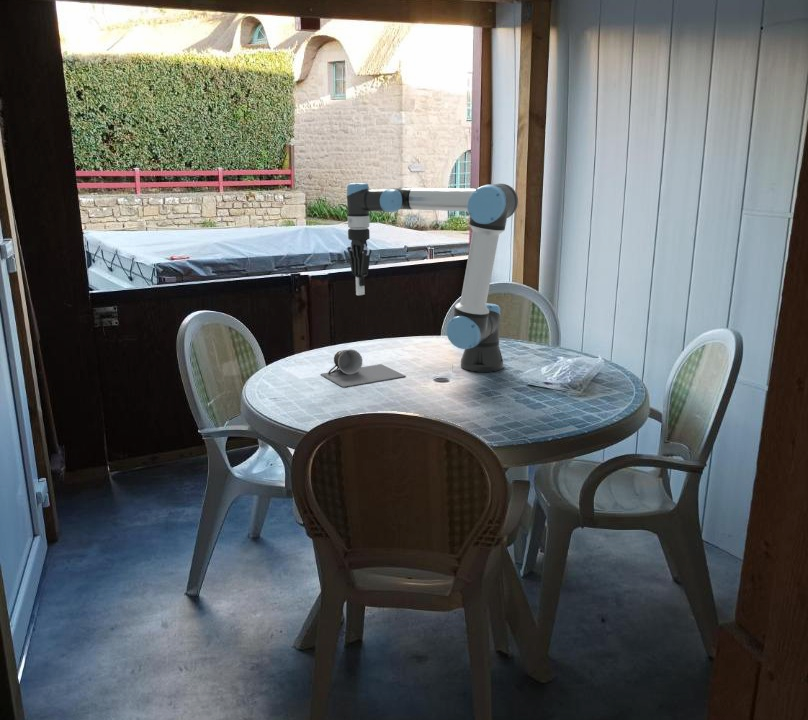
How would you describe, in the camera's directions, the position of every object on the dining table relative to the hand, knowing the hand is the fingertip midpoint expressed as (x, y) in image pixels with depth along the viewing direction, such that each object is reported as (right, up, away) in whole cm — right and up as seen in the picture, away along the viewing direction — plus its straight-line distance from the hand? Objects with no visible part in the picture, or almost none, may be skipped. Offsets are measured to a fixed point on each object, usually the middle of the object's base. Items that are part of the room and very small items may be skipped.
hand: (360, 294), depth 271 cm
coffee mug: (-8, -23, -3) cm, 25 cm away
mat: (+2, -29, -12) cm, 31 cm away
